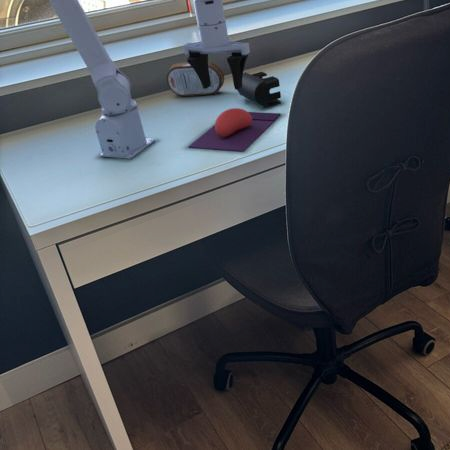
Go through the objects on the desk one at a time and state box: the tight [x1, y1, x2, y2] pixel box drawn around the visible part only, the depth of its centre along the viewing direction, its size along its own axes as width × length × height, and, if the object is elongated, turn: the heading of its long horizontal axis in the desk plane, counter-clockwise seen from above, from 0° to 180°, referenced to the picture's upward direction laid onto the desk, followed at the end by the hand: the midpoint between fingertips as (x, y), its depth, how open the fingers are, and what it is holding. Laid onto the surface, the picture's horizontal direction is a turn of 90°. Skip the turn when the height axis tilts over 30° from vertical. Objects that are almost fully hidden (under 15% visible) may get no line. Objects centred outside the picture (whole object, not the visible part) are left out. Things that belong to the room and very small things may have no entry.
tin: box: [165, 60, 225, 97], centre depth 147 cm, size 15×3×8 cm, turn 84°
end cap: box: [236, 71, 282, 109], centre depth 137 cm, size 10×7×7 cm
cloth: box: [188, 111, 282, 153], centre depth 125 cm, size 20×13×1 cm, turn 159°
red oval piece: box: [214, 107, 252, 137], centre depth 123 cm, size 5×9×6 cm, turn 126°
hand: (222, 87), depth 122 cm, fingers open, 7 cm apart
